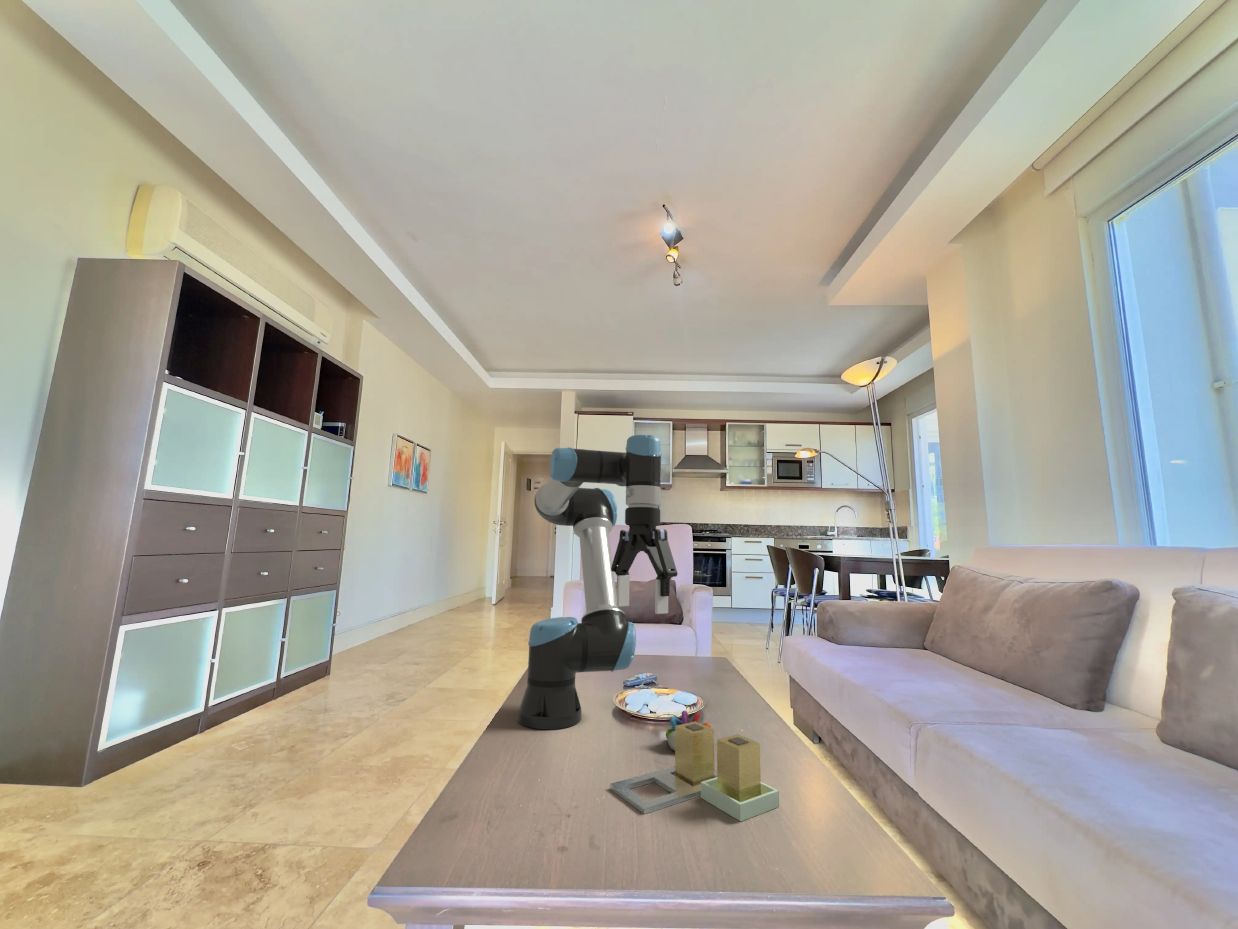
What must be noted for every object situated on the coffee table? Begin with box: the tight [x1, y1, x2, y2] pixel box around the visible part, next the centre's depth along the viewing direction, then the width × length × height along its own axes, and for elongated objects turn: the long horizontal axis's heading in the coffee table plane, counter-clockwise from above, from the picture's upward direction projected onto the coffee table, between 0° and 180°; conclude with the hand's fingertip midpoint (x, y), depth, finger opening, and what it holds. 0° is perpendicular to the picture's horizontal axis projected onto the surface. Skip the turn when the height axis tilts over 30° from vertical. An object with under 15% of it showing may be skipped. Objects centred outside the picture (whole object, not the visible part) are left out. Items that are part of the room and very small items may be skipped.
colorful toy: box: [665, 710, 712, 752], centre depth 110 cm, size 8×10×7 cm
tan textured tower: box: [674, 721, 715, 786], centre depth 94 cm, size 5×5×9 cm
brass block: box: [716, 734, 762, 802], centre depth 87 cm, size 5×5×9 cm
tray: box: [700, 777, 780, 822], centre depth 86 cm, size 9×9×2 cm
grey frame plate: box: [609, 765, 717, 815], centre depth 91 cm, size 10×20×1 cm, turn 123°
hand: (641, 609), depth 107 cm, fingers open, 13 cm apart
